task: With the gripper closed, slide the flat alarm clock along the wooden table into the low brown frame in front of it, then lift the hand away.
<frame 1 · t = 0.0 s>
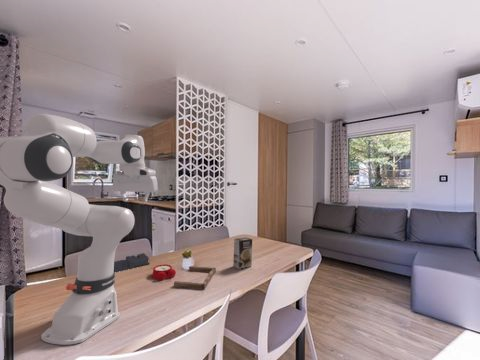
hand: (135, 201, 107), 39 cm above the table, tool pointing down, fingers open, 8 cm apart
coffee box: (242, 266, 137), on the table
brown frame: (195, 278, 118), on the table
alarm clock: (163, 276, 120), on the table
dark slate chunk: (128, 266, 134), on the table
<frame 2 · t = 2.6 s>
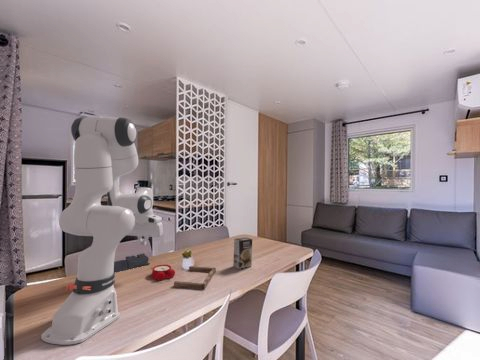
hand: (143, 244, 122), 15 cm above the table, tool pointing down, fingers closed
nothing on the table moved.
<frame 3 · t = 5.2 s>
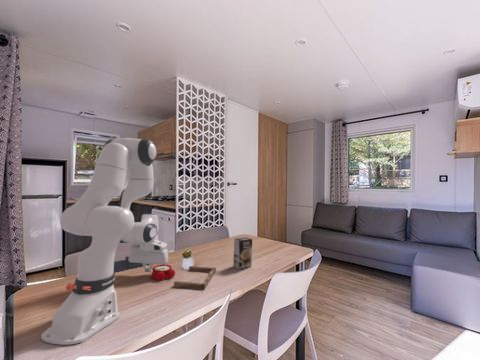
hand: (148, 271, 121), 2 cm above the table, tool pointing down, fingers closed
alarm clock: (163, 277, 119), on the table, touching gripper
everything else where it was.
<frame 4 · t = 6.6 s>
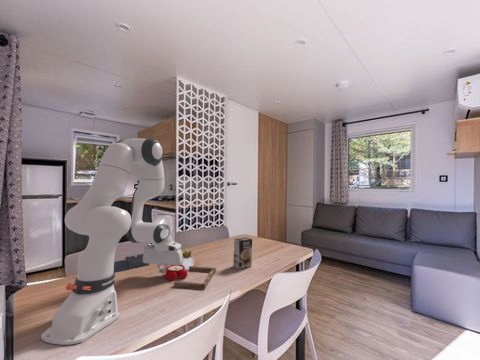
hand: (162, 272, 120), 2 cm above the table, tool pointing down, fingers closed
alarm clock: (176, 276, 120), on the table, touching gripper
everything else where it was.
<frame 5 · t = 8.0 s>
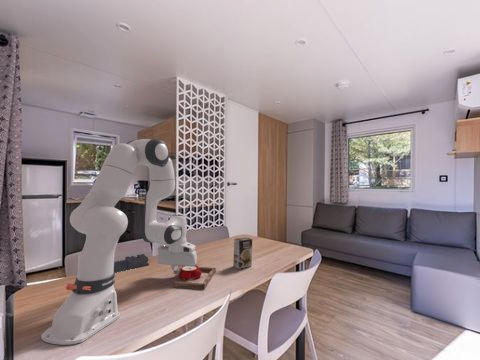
hand: (176, 273, 119), 2 cm above the table, tool pointing down, fingers closed
alarm clock: (190, 276, 121), on the table, touching gripper
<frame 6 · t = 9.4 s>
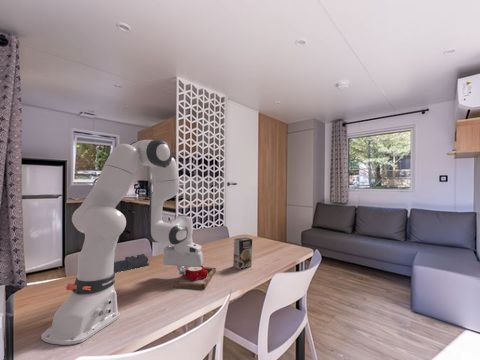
hand: (182, 274, 119), 2 cm above the table, tool pointing down, fingers closed
alarm clock: (196, 277, 121), on the table, touching brown frame
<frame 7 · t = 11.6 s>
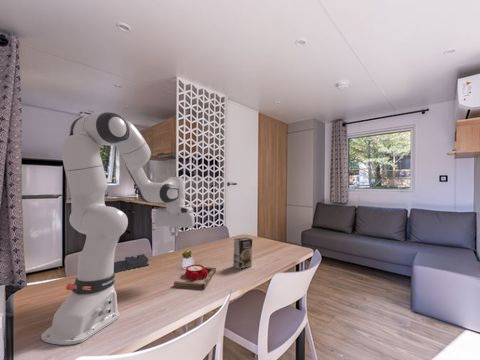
hand: (174, 235, 120), 21 cm above the table, tool pointing down, fingers closed
alarm clock: (196, 277, 121), on the table
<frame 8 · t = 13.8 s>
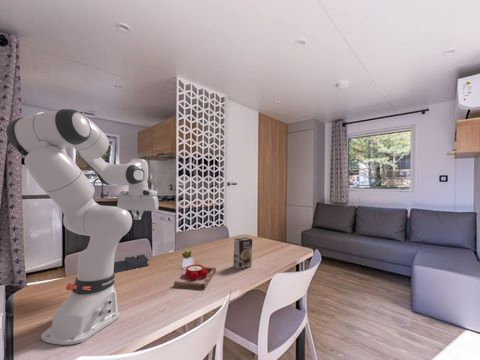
hand: (137, 219, 116), 29 cm above the table, tool pointing down, fingers closed
alarm clock: (196, 277, 121), on the table, touching brown frame
at the end: alarm clock inside the target area on the brown frame (3.0 cm from its centre), point 0.0 cm above the brown frame's base; alarm clock moved 16.4 cm from its start; alarm clock tilted 0° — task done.
